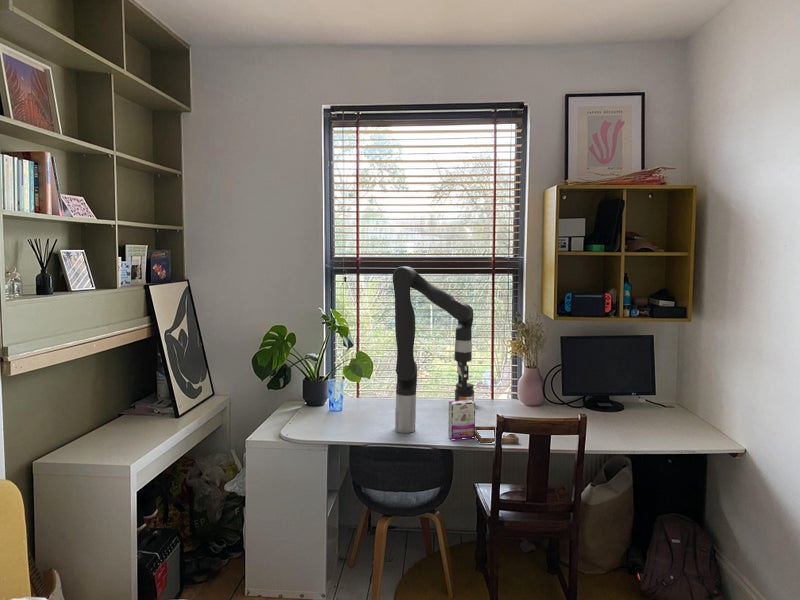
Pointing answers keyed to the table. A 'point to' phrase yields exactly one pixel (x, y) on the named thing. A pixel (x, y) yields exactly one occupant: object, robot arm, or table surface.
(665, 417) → the table surface
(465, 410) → the candy bar box
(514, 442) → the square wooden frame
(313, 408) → the table surface
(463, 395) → the supplement container
